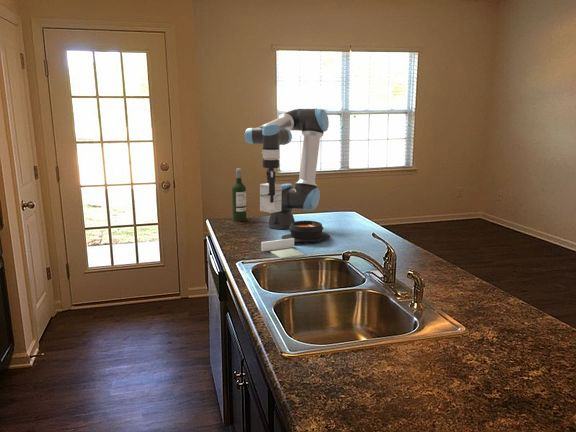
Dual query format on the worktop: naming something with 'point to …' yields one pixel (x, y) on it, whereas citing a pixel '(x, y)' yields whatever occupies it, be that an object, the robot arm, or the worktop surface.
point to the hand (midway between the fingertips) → (270, 207)
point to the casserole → (306, 232)
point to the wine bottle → (239, 198)
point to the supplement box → (265, 198)
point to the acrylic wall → (277, 244)
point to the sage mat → (286, 253)
